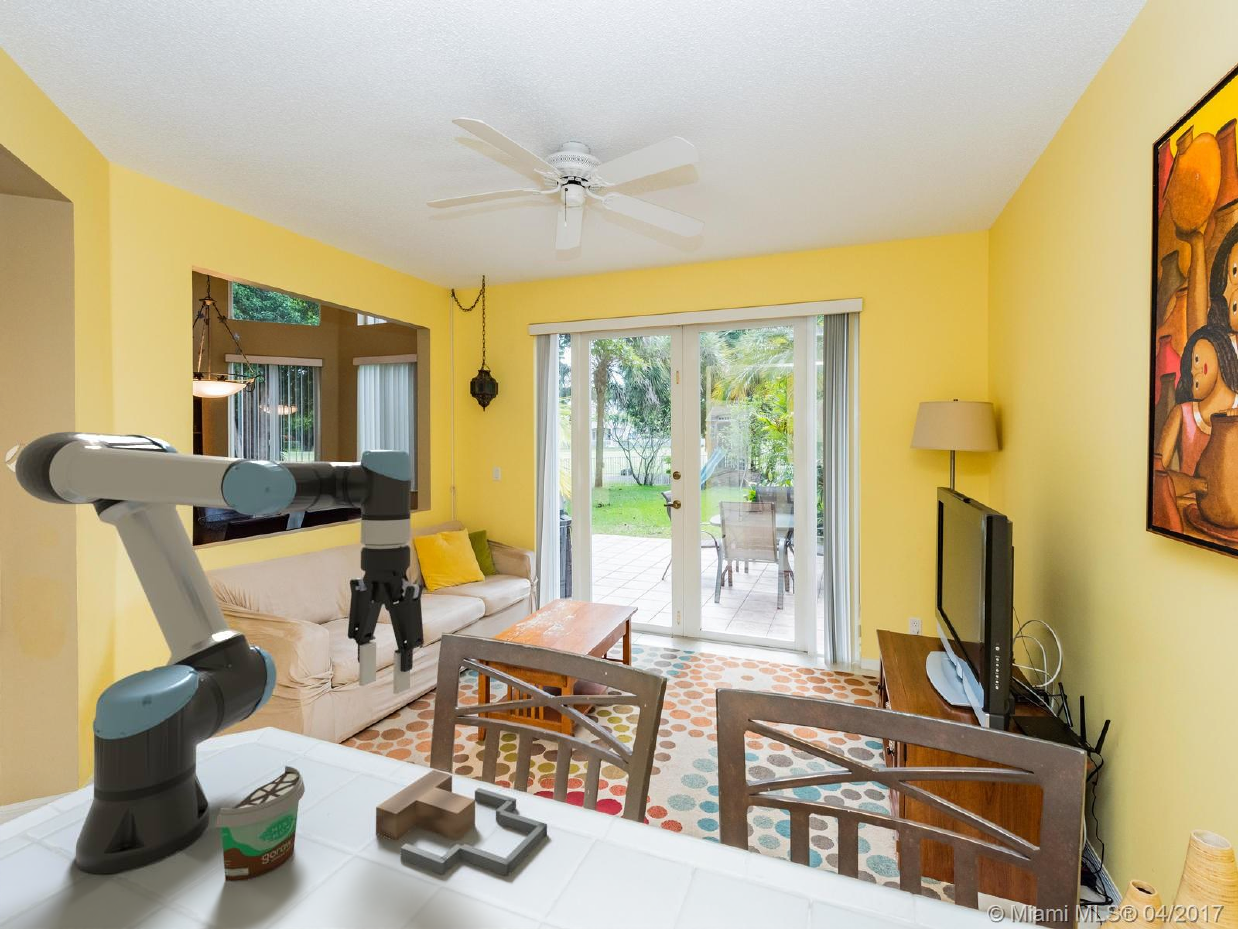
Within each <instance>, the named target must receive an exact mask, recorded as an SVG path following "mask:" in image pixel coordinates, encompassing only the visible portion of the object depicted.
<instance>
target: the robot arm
mask: <svg viewBox="0 0 1238 929" xmlns="http://www.w3.org/2000/svg"><path fill="white" fill-rule="evenodd" d="M14 470H15V472H14V474H15V477H16V480H17V482H18V483H19V485H20V486H21V488H22V489H23V490H24V491H25V492H27V494H29V495H30V496H31V497H34V498H35V499H38V500H40V501H43V502H47V503H49V504H50V503H51V504H55V505H56V504H57V505H84V504H85V505H86V504H89V505H93V508H94V510H95V512H96V514H97V516H98V519H99V521H100V522H102V523H104V524H109V525H111V526H114V527H115V529H116V531H117V533H118V536H119V538H120V539H121V541H122V544H123V547H124V549H125V551H126V554H127V556H128V558H129V559H130V563H131V565H132V567H133V570H134V572H135V574H136V577H137V579H138V581H139V583H140V585H141V587H142V590H143V592H144V594H145V596H146V598H147V602H148V603H149V605H150V608H151V610H152V612H153V614H154V615H153V616H154V617H155V619H156V622H157V625H158V626H159V628H160V630H161V633H162V635H163V637H164V639H165V642H166V645H167V646H168V649H169V651H170V653H171V654H170V657H169V659H168V661H167V663H166V665H163V666H156V667H153V668H152V669H150V670H141V671H138V672H136V673H133V674H130V675H128V676H125V677H124V678H121V679H119V680H118V681H116V682H114V683H112V684H111V685H109V686H108V687H106V689H105V690H103V692H102V693H101V694H100V695H99V697H98V699H97V701H96V706H95V717H94V719H93V723H92V730H93V744H94V745H93V752H94V753H93V756H94V757H93V759H94V760H93V761H94V762H93V763H94V764H93V798H92V803H91V806H90V807H89V810H88V812H87V816H86V818H85V820H84V823H83V825H82V828H81V831H80V833H79V836H78V837H77V841H76V845H75V864H76V866H77V868H78V869H80V871H83V872H85V873H90V874H99V875H100V874H101V875H103V874H114V873H120V872H121V873H122V872H125V871H126V872H127V871H130V870H134V869H135V870H136V869H139V868H142V867H144V866H149V865H151V864H154V863H156V862H159V861H161V860H163V859H164V860H165V859H166V858H168V857H170V856H173V855H174V854H176V853H178V852H180V851H182V850H183V849H185V848H187V847H188V846H189V845H191V844H192V843H194V842H195V841H196V840H197V839H198V838H200V837H201V836H202V835H203V833H204V832H205V831H206V829H207V828H208V826H209V824H210V805H209V801H208V799H207V797H206V794H205V792H204V789H203V786H202V784H201V781H200V780H199V778H198V775H197V746H198V745H199V744H201V743H202V742H203V743H204V742H205V741H206V740H209V739H211V738H212V737H214V736H216V735H217V734H219V733H222V732H224V731H225V730H227V729H228V728H229V729H230V728H231V727H232V726H234V725H236V724H238V723H241V722H243V721H245V720H246V719H249V718H251V716H252V715H253V714H255V713H256V712H259V710H261V709H262V708H263V707H264V706H266V705H267V703H268V702H269V700H271V698H272V695H273V692H274V689H275V688H276V685H277V679H278V678H277V676H278V674H277V672H278V671H277V668H276V663H275V661H274V659H273V657H272V655H271V654H270V653H269V652H268V650H266V649H263V648H261V647H260V646H258V645H254V644H252V645H251V644H249V643H248V640H247V638H246V636H245V634H244V632H241V631H238V630H234V629H232V628H230V626H229V624H228V621H227V619H226V617H225V615H224V613H223V610H222V608H221V607H220V606H221V605H220V604H219V601H218V600H217V598H216V595H215V592H214V590H213V588H212V586H211V584H210V582H209V579H208V577H207V575H206V573H205V570H204V568H203V566H202V564H201V562H200V559H199V557H198V555H197V552H196V551H195V548H194V546H193V543H192V541H191V539H190V537H189V535H188V532H187V531H186V528H185V526H184V523H183V521H182V520H181V517H180V515H179V512H178V510H177V505H179V506H190V507H191V506H192V507H201V508H202V507H203V508H214V509H225V510H234V511H236V512H237V513H239V514H241V515H247V516H270V515H274V514H279V513H287V512H299V511H309V510H319V509H320V510H322V509H333V508H334V509H339V508H340V509H342V508H343V509H344V508H346V509H347V508H349V509H351V508H352V509H360V517H361V519H360V544H362V545H364V546H363V547H361V549H360V569H361V571H363V572H364V574H363V577H362V576H361V577H358V578H352V579H350V581H349V586H350V595H351V596H350V605H349V606H350V607H349V616H348V627H347V628H348V630H347V638H348V639H350V640H352V639H353V640H354V641H355V644H357V662H358V664H359V665H358V667H359V672H358V673H359V674H358V675H359V676H358V677H359V679H358V680H359V681H358V682H359V685H358V686H361V687H364V686H367V685H369V684H372V683H374V682H376V681H377V641H374V640H375V639H376V636H374V634H375V630H376V627H377V624H378V620H379V616H380V613H381V610H382V607H383V605H384V608H385V610H386V611H387V612H388V613H389V617H390V618H389V619H390V622H391V626H392V630H393V634H394V637H395V642H396V645H397V646H396V647H397V649H396V650H394V651H393V686H392V687H393V689H392V690H393V694H395V695H398V694H400V693H403V692H405V691H406V690H409V689H410V688H411V670H412V669H413V668H414V667H413V664H414V663H413V662H414V661H413V660H414V659H413V658H414V656H413V655H414V649H416V648H419V647H422V646H423V645H424V643H425V642H424V628H423V614H422V613H423V612H422V595H423V594H422V593H423V587H424V586H423V584H422V583H412V582H410V581H409V578H408V574H407V571H408V569H409V568H410V566H411V547H410V545H409V544H407V543H410V542H411V517H412V515H411V502H412V501H411V498H412V497H411V495H412V480H413V476H412V464H411V456H410V454H409V453H408V452H407V451H405V450H394V449H393V450H392V449H391V450H389V449H388V450H387V449H374V450H371V449H369V450H364V451H363V452H362V453H361V459H360V461H358V462H357V461H356V462H342V461H340V462H339V461H319V460H318V461H314V460H313V461H311V460H310V461H298V460H297V461H291V460H290V461H287V460H268V459H258V458H257V459H255V458H241V457H227V456H226V457H225V456H214V455H201V454H187V453H179V452H178V450H177V449H175V447H174V446H172V445H171V444H170V443H168V442H166V441H164V440H162V439H160V438H156V437H149V436H144V435H142V434H125V435H124V434H109V433H108V434H106V433H94V432H93V433H92V432H80V431H79V432H77V431H65V432H64V431H63V432H55V433H50V434H47V435H43V436H41V437H39V438H36V439H34V440H32V441H31V442H30V443H28V444H27V445H25V446H24V448H23V449H22V450H21V452H20V453H19V454H18V457H17V458H16V462H15V465H14Z"/></svg>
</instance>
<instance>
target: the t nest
mask: <svg viewBox="0 0 1238 929" xmlns="http://www.w3.org/2000/svg"><path fill="white" fill-rule="evenodd" d="M474 799H475V802H476V801H477V802H480V803H484V804H486V805H490V806H493V807H496V808H497V809H496V810H495V821H497V822H498V824H499V825H502V826H504V827H508V828H511V829H514V830H517V831H520V832H523V833H526V834H528V835H527V836H526V837H525V838H524V839H523V840H522V841H521V842H520V843H519V844H518V845H517V846H516V847H515V848H514V849H513V850H512V851H511V852H510V853H508V855H507V856H506V857H502V856H500V855H497V854H495V853H491V852H488V851H487V850H486V851H485V850H482V849H481V848H477V847H474V846H472V845H470V844H469V845H468V844H466V843H464V844H463V845H460V844H458V843H455V845H454V846H453V847H452V848H450V849H449V850H448V851H447V852H446V853H445V854H443V855H442V856H441V855H438V854H436V853H433V852H431V851H428V850H425V849H423V848H419V847H418V846H414V845H412V844H409V843H405V844H403V845H402V846H401V847H400V859H402V860H404V861H407V862H410V863H411V864H414V865H417V866H419V867H422V868H424V869H427V870H430V871H433V872H435V873H438V874H440V875H444V874H445V873H446V872H447V871H448V870H449V869H451V867H452V866H454V865H455V864H456V863H457V862H458V861H459V860H462V861H463V862H464V861H465V862H467V863H470V864H472V865H475V866H478V867H481V868H484V869H486V870H489V871H491V872H494V873H497V874H499V875H502V876H506V877H508V876H509V875H510V874H511V873H512V872H513V870H515V868H517V866H518V865H519V864H521V862H522V861H523V860H524V859H525V858H526V857H527V856H528V855H529V854H530V853H531V852H532V851H533V850H534V849H535V848H536V846H538V844H539V843H541V841H542V840H543V839H544V838H545V837H546V835H548V823H544V822H542V821H538V820H535V819H532V818H528V817H526V816H522V815H520V814H515V813H513V812H514V811H515V810H517V798H514V797H511V796H508V795H505V794H502V793H497V792H494V791H490V790H487V789H483V788H480V787H478V788H477V789H475V790H474Z"/></svg>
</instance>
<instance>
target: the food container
mask: <svg viewBox="0 0 1238 929" xmlns="http://www.w3.org/2000/svg"><path fill="white" fill-rule="evenodd" d="M305 789H306V788H305V784H304V779H303V776H302V775H301V773H300V771H299V770H298V769H296V768H295V767H293V766H290V765H289V766H288V765H285V767H284V773H282V774H281V775H279V776H278V777H277V778H275V779H274V780H271V782H268V783H266V784H264V785H262V786H260V787H258V788H256V789H255V790H253V791H252V792H251V793H250V794H249V795H248V796H246V797H245V798H243V800H242V801H240V802H238V804H236V805H235V806H233V807H232V808H223V807H222V808H219V814H218V815H217V821H216V827H217V828H220V830H221V833H220V834H221V844H222V852H223V853H222V856H223V867H224V868H223V869H224V880H225V882H242V881H248V879H249V880H252V879H257V878H259V877H262V876H265V875H267V874H268V873H271V872H273V871H275V870H276V869H278V868H280V867H282V866H283V865H285V863H286V862H287V861H289V859H290V858H291V856H292V855H293V853H294V850H295V840H296V832H297V831H296V830H297V822H298V812H299V803H300V800H301V799H302V797H303V796H304V794H305Z"/></svg>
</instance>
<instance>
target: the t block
mask: <svg viewBox="0 0 1238 929" xmlns="http://www.w3.org/2000/svg"><path fill="white" fill-rule="evenodd" d="M375 813H376V814H375V834H376V835H377V834H379V835H378V836H380V835H382V836H381V837H383V836H385V837H387V838H386V839H388V838H390V839H389V840H391V841H393V840H394V842H397V841H398V840H400V839H401V838H402V837H403V836H405V835H407V834H408V833H409V832H410V831H412V830H413V829H414V828H416V827H417V828H420V829H422V830H426V831H428V832H430V833H433V834H436V835H439V836H442V837H445V838H448V839H451V840H453V841H456V842H458V841H459V840H460V839H461V838H463V837H464V836H465V835H466V834H467V833H469V832H470V831H471V830H473V828H474V827H476V800H475V798H471V797H469V796H465V795H462V794H461V795H460V794H459V793H454V792H453V775H452V774H448V773H446V772H441V771H439V770H435V769H433V770H431V771H429V772H428V773H427V774H425V775H422V777H420V778H418V779H417V780H415V781H414V782H413V783H410V784H409V785H408V786H406V787H404V788H403V789H401V790H400V791H399V792H397V793H395V794H394V795H392V796H391V797H390V798H388V799H386V800H384V801H383V802H382V803H380V804H378V805H377V806H375ZM385 837H384V838H385ZM399 838H400V839H399Z"/></svg>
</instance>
